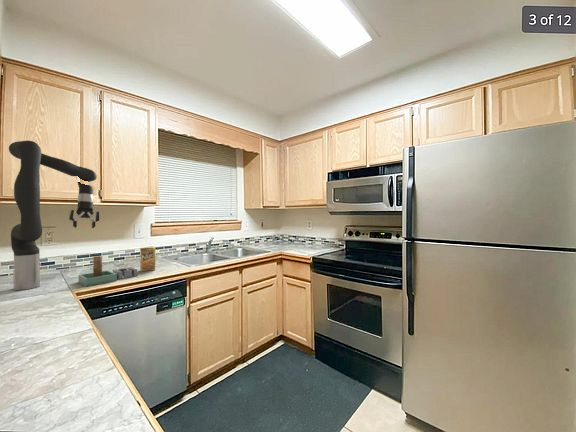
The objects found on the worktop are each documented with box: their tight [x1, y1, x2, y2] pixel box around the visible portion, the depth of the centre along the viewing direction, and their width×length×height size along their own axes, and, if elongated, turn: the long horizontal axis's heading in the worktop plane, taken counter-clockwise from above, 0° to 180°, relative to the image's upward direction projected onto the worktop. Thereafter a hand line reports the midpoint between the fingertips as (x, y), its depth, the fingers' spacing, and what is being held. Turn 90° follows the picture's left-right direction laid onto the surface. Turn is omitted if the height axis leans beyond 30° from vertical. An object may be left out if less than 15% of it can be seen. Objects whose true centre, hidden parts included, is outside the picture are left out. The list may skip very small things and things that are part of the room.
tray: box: [77, 270, 118, 287], centre depth 141 cm, size 14×14×4 cm
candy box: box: [139, 246, 156, 272], centre depth 169 cm, size 9×4×15 cm, turn 116°
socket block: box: [111, 266, 138, 280], centre depth 153 cm, size 10×10×4 cm
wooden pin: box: [92, 255, 103, 277], centre depth 141 cm, size 4×4×13 cm
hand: (84, 227), depth 153 cm, fingers open, 8 cm apart
